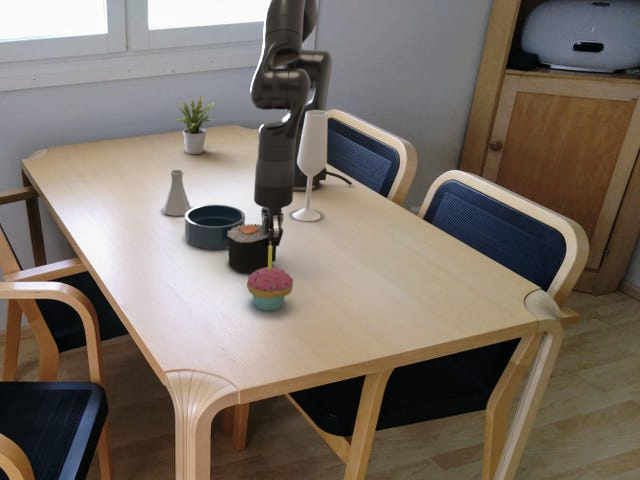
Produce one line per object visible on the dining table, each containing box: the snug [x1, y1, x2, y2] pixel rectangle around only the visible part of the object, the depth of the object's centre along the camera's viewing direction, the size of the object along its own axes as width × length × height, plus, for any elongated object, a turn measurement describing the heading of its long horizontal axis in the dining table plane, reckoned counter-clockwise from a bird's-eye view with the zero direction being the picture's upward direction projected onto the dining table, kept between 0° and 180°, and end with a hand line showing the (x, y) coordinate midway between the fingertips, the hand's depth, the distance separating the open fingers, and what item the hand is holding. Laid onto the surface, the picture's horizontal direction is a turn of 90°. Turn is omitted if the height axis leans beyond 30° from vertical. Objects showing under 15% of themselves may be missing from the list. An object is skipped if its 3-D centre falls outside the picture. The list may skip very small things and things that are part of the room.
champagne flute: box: [291, 110, 329, 222], centre depth 156 cm, size 7×7×24 cm
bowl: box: [184, 204, 246, 250], centre depth 152 cm, size 13×13×6 cm
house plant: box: [174, 95, 219, 155], centre depth 202 cm, size 14×14×16 cm
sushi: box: [227, 223, 269, 274], centre depth 139 cm, size 8×8×8 cm
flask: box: [162, 169, 192, 217], centre depth 165 cm, size 7×7×10 cm
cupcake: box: [246, 241, 294, 312], centre depth 124 cm, size 9×8×12 cm
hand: (269, 260), depth 141 cm, fingers closed
